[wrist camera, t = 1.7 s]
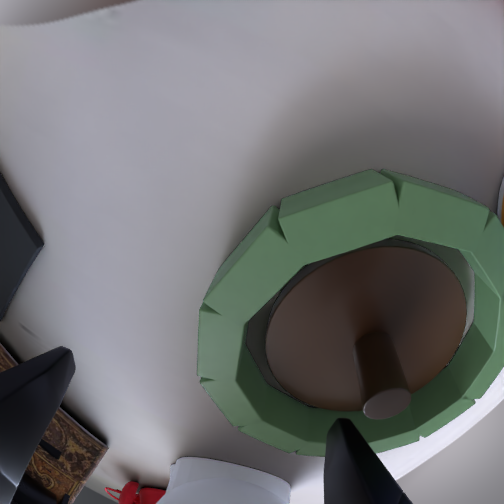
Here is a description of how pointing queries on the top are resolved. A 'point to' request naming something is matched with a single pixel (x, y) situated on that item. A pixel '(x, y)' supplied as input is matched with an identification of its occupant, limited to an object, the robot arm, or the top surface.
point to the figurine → (222, 484)
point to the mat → (14, 245)
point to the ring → (330, 244)
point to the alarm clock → (144, 500)
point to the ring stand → (366, 328)
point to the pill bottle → (501, 204)
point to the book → (69, 443)
